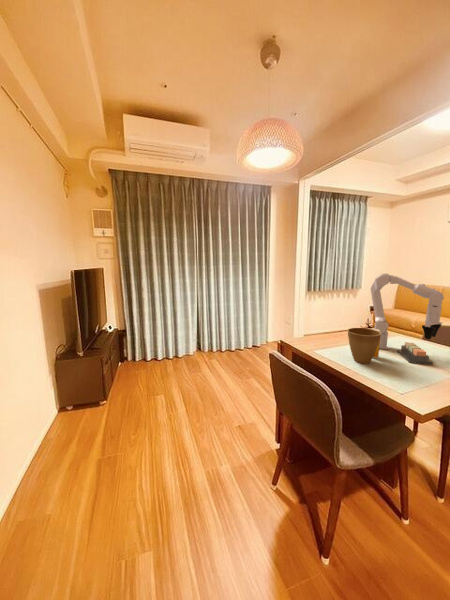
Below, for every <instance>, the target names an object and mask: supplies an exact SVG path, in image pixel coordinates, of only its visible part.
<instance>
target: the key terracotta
mask: <svg viewBox="0 0 450 600" xmlns="http://www.w3.org/2000/svg"><path fill="white" fill-rule="evenodd" d="M413 354H414V355H416V356H425V357H426V355H427V351H425V350H424V349H422V348H421V349H413Z"/></svg>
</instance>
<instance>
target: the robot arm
mask: <svg viewBox="0 0 450 600" xmlns="http://www.w3.org/2000/svg"><path fill="white" fill-rule="evenodd" d="M389 284H391V285H399V286H402V287H404V288H406V289H408V290H411V291H412V293H413V294H415V295H418V296H420V297H422V298H424V299H428V303H427V308H426V315H425V321H424V323H425V324H423V325H421V328H422V330H423V334H424V339H425V340H431V339H432V337H433V338H435V337H436V335H437V334H438V331H439V330H440V328H441V327H442V325H443V322H441V321H440V320H441V314H442V307H443V306H442V304H443V300H444V298H445V297H444V295H443V293H442V292H441V291H439V290H437V289H436V288H434V287H433V288H431V287H429V286H427V285H426V284H424V283H422V284H421V283H416V284H415V283H412V282H411V281H408V280H405V279H403V278H401V277H399V276H397V275H393V274H389V273H382V274H379V275H378V276H377V277H376V278H375V279H374V281H373V283H372V285H371V286H370V294H371V300H372V305H373V306H372V307H373V311H374V317H375V320H374V321H375V322H374V324H375V325H374V328H373V329H378V330H380V332H381V336H380V345H379V350H380V349H382V350H390V347H389V346H388V339H389V338H388V336H389V332H388V329H389V327H390V325H389V322H387V319H386V316H385V311H384V305H383V299H382V293H381V290H382V289H383V288H384V287H385V286H386V285H389Z"/></svg>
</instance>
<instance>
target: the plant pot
mask: <svg viewBox="0 0 450 600" xmlns="http://www.w3.org/2000/svg"><path fill="white" fill-rule="evenodd" d="M372 329H373V328H365V327H351V328H348V329H347V338H348V344H349V347H350V348H349V349H350V352H351V356H352V359H353V360H354V362H356V363H359V364H363V365H364V364H365V365H366V364H370V363H371V361H372V359H374V358H373V356H374V354H375V351H376V349H377V346H378V343H379V340H380V336H381V333H380V332H379V331H376V330H372Z"/></svg>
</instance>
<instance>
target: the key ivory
mask: <svg viewBox="0 0 450 600" xmlns="http://www.w3.org/2000/svg"><path fill="white" fill-rule="evenodd" d="M409 345H411V346H418V345H417V344H416V343H414V342H404V347H406V348H407V349H409Z"/></svg>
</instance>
